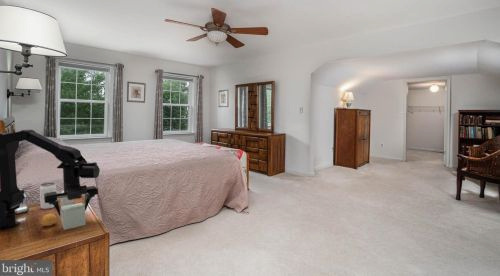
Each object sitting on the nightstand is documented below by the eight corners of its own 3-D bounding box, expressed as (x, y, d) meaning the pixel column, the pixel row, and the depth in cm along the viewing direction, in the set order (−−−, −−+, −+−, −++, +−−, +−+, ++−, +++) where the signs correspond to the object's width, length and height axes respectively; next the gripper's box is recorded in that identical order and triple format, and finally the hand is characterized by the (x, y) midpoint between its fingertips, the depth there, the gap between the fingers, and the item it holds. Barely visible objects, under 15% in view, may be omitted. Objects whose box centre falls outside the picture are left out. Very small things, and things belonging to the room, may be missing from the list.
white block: (61, 223, 110) (60, 206, 109) (82, 219, 115) (81, 202, 114) (63, 229, 104) (63, 212, 103) (85, 224, 109) (85, 207, 108)
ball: (38, 226, 106) (38, 215, 106) (51, 222, 111) (50, 211, 110) (47, 228, 105) (46, 217, 104) (59, 223, 109) (59, 212, 109)
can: (47, 209, 124) (46, 186, 123) (37, 208, 125) (36, 185, 124) (60, 205, 130) (59, 182, 129) (49, 203, 131) (48, 181, 130)
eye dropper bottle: (60, 205, 130) (59, 182, 129) (73, 202, 134) (72, 181, 133) (61, 207, 127) (60, 184, 126) (74, 205, 131) (73, 182, 130)
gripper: (45, 186, 95) (47, 225, 97) (100, 178, 108) (101, 213, 109) (42, 179, 103) (44, 216, 105) (94, 173, 116) (95, 205, 117)
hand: (72, 212), depth 109 cm, fingers open, 9 cm apart
